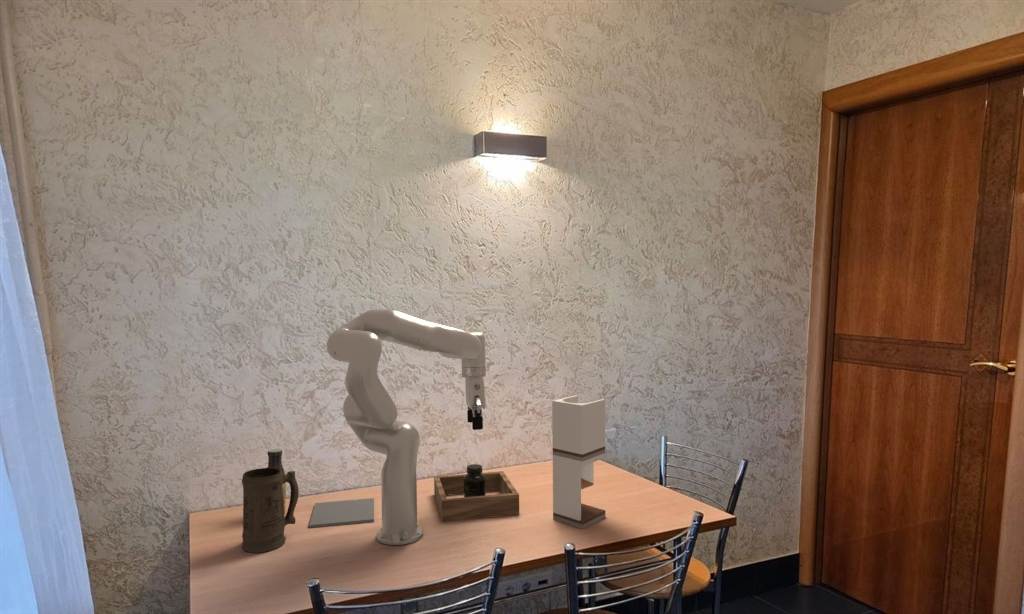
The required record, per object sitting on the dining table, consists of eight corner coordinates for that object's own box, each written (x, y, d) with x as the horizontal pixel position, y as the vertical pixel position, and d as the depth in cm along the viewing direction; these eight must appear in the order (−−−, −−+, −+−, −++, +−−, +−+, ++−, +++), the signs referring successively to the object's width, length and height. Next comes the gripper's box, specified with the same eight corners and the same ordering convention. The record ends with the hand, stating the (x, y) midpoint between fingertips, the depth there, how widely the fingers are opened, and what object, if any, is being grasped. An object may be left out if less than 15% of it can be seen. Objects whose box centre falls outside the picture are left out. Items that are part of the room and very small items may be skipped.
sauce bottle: (270, 521, 177) (269, 454, 176) (259, 517, 180) (257, 451, 180) (290, 514, 182) (289, 449, 181) (279, 510, 186) (277, 446, 185)
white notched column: (582, 528, 169) (582, 405, 168) (553, 519, 177) (552, 400, 175) (605, 517, 178) (604, 399, 177) (576, 508, 185) (575, 395, 184)
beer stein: (255, 557, 153) (259, 478, 153) (230, 548, 159) (233, 472, 159) (305, 540, 166) (308, 467, 166) (280, 531, 172) (283, 461, 172)
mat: (373, 521, 176) (373, 519, 176) (309, 527, 172) (309, 525, 172) (373, 500, 193) (373, 498, 193) (315, 505, 189) (315, 503, 189)
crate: (519, 514, 181) (519, 494, 181) (442, 521, 176) (441, 501, 175) (503, 488, 203) (503, 471, 203) (434, 494, 198) (434, 476, 198)
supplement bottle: (473, 498, 194) (472, 461, 194) (490, 503, 190) (489, 465, 190) (459, 505, 189) (459, 467, 188) (476, 509, 185) (476, 471, 184)
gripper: (490, 375, 181) (492, 431, 181) (480, 367, 197) (482, 418, 198) (465, 376, 179) (467, 433, 180) (458, 368, 196) (459, 420, 197)
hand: (475, 425), depth 189 cm, fingers open, 9 cm apart
